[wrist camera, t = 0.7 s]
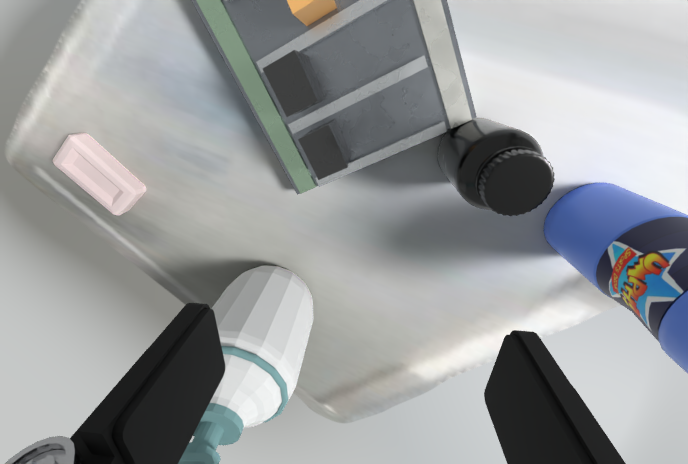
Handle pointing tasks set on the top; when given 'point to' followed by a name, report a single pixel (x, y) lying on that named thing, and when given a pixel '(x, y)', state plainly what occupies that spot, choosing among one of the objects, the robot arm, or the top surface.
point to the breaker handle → (311, 9)
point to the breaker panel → (343, 79)
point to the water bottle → (629, 256)
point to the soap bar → (98, 173)
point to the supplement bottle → (496, 166)
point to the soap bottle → (254, 356)
